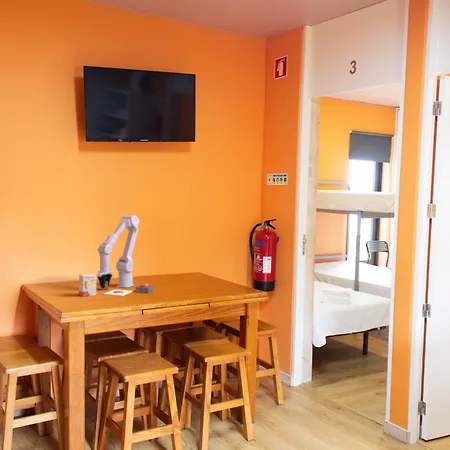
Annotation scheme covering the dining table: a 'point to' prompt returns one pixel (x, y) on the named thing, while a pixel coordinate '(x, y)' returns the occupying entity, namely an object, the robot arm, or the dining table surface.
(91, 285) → the ink box
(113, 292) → the paper sheet
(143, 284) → the button
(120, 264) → the robot arm
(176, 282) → the dining table surface
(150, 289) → the button housing
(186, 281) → the dining table surface
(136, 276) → the dining table surface
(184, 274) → the dining table surface
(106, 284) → the grey rounded cylinder
